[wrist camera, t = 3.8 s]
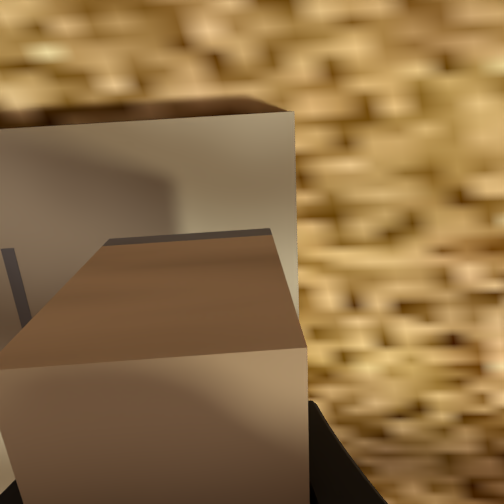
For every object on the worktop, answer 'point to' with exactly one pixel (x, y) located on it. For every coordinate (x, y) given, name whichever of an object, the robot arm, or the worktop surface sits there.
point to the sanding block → (162, 379)
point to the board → (134, 197)
